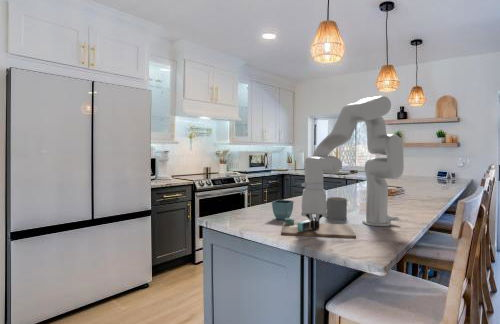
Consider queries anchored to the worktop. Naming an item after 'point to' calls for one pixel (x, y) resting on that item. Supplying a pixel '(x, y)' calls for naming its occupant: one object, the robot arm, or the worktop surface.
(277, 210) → the flower pot
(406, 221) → the worktop surface
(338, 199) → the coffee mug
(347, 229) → the walnut board
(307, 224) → the swing bar
